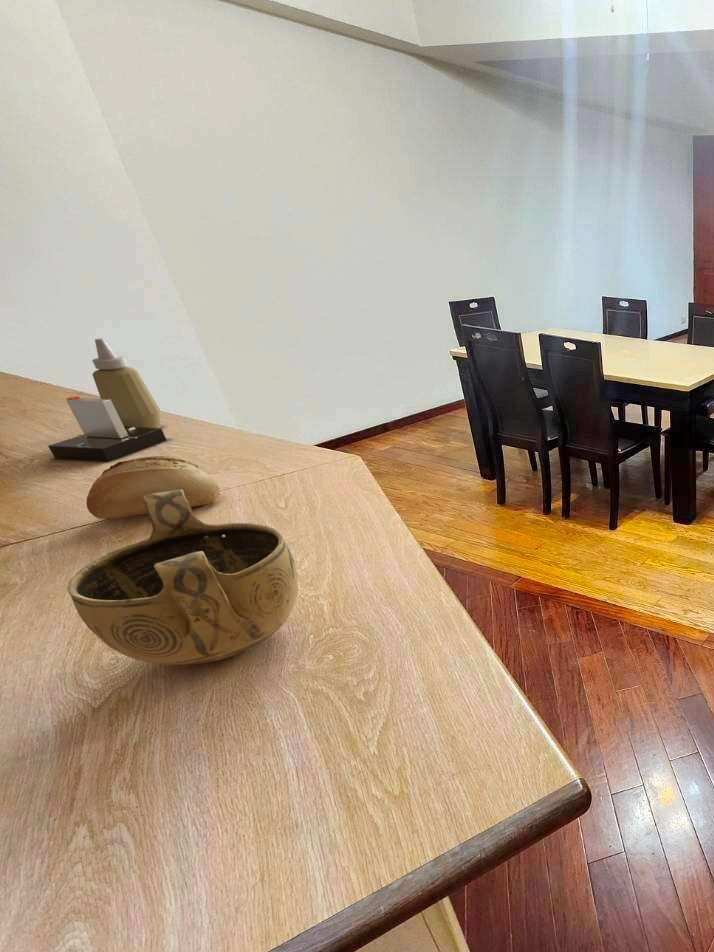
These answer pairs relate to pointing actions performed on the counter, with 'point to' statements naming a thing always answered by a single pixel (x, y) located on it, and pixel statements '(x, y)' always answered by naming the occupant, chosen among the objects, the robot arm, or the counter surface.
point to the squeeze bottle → (124, 389)
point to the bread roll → (147, 485)
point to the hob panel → (107, 445)
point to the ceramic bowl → (188, 588)
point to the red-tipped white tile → (97, 417)
